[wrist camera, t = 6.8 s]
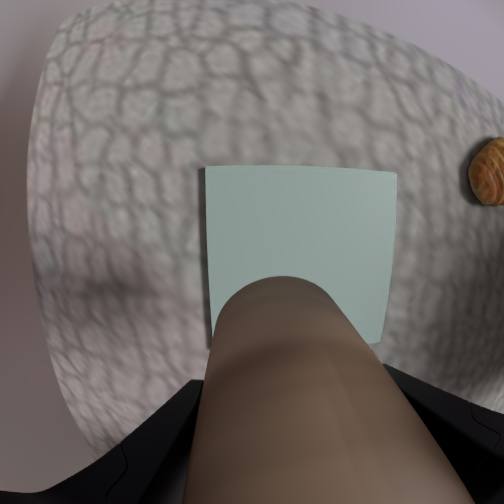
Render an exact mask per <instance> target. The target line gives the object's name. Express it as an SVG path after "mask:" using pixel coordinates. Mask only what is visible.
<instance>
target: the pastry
mask: <svg viewBox="0 0 504 504" xmlns="http://www.w3.org/2000/svg"><path fill="white" fill-rule="evenodd" d="M468 177H469V180H470V184H471V188H472V191H473V193H474V195H475V196H476V198H478V199H479V200H480V201H481V202H482V203H483V204H484V205H493V206H499V205H503V206H504V137H497V138H496V139H494V140H492V141H490V142H489V143H488V144H487V145H486V146H485V147H483V148H482V150H481V151H480V152H479V153H478V154H477V155H476V156H475V157H474V159H473V160H472V162H471V165H470V167H469V169H468Z"/></svg>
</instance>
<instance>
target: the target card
mask: <svg viewBox="0 0 504 504" xmlns="http://www.w3.org/2000/svg"><path fill="white" fill-rule="evenodd" d="M205 184H206V227H207V253H208V274H209V292H210V308H211V322H212V335H213V334H214V329H215V325H216V321H217V318H218V315H219V313H220V311H221V309H222V308H223V306H224V305H225V303H226V302H227V301H228V300H229V299H230V297H231V296H233V295H234V294H235V293H236V292H237V291H238V290H240V289H241V288H243V287H244V286H246V285H248V284H250V283H252V282H254V281H257V280H260V279H263V278H268V277H274V276H292V277H298V278H302V279H305V280H308V281H310V282H313V283H314V284H316V285H318V286H319V287H321V288H322V289H323V290H325V291H326V292H327V293H328V294H329V295H330V297H331V298H332V299H333V300H334V302H335V303H336V304H337V305H338V307H339V308H340V309H341V311H342V312H343V313H344V314H345V316H346V317H347V318H348V320H349V321H350V322H351V324H352V325H353V326H354V328H355V329H356V330H357V331H358V333H359V334H360V335H361V337H362V338H363V339H364V341H365V342H366V343H367V344H371V343H378V342H380V340H381V335H382V330H383V325H384V319H385V314H386V308H387V301H388V295H389V288H390V280H391V272H392V263H393V252H394V240H395V225H396V200H397V173H393V172H383V171H373V170H362V169H350V168H335V167H317V166H288V165H232V166H205Z"/></svg>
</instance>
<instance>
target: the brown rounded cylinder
mask: <svg viewBox="0 0 504 504" xmlns="http://www.w3.org/2000/svg"><path fill="white" fill-rule="evenodd" d="M182 504H475V502H474V500H473V499H472V497H471V495H470V494H469V492H468V490H467V489H466V487H465V486H464V484H463V482H462V481H461V479H460V478H459V476H458V474H457V473H456V471H455V470H454V468H453V466H452V465H451V463H450V462H449V460H448V459H447V457H446V456H445V454H444V453H443V451H442V450H441V448H440V447H439V445H438V444H437V442H436V441H435V439H434V438H433V436H432V435H431V433H430V432H429V430H428V429H427V427H426V426H425V424H424V423H423V421H422V420H421V418H420V417H419V416H418V414H417V413H416V411H415V410H414V408H413V407H412V405H411V404H410V403H409V401H408V400H407V398H406V397H405V396H404V394H403V393H402V391H401V390H400V388H399V387H398V386H397V384H396V383H395V382H394V380H393V379H392V377H391V376H390V375H389V373H388V372H387V370H386V369H385V368H384V366H383V365H382V364H381V362H380V361H379V360H378V358H377V357H376V356H375V354H374V353H373V351H372V350H371V349H370V347H369V346H368V345H367V343H366V342H365V341H364V339H363V338H362V337H361V335H360V334H359V333H358V331H357V330H356V329H355V328H354V326H353V325H352V324H351V322H350V321H349V320H348V318H347V317H346V316H345V314H344V313H343V312H342V311H341V309H340V308H339V307H338V305H337V304H336V303H335V302H334V300H333V299H332V298H331V297H330V295H329V294H328V293H327V292H326V291H325V290H323V289H322V288H321V287H319V286H318V285H316V284H314V283H313V282H310V281H308V280H305V279H302V278H298V277H292V276H274V277H268V278H263V279H260V280H257V281H254V282H252V283H250V284H248V285H246V286H244V287H243V288H241V289H240V290H238V291H237V292H236V293H235V294H234V295H233V296H231V297H230V299H229V300H228V301H227V302H226V303H225V305H224V306H223V308H222V309H221V311H220V313H219V315H218V318H217V321H216V325H215V329H214V334H213V339H212V344H211V349H210V354H209V358H208V363H207V368H206V373H205V378H204V384H203V389H202V394H201V399H200V404H199V409H198V415H197V420H196V425H195V431H194V436H193V442H192V447H191V453H190V458H189V464H188V470H187V476H186V482H185V488H184V494H183V500H182Z"/></svg>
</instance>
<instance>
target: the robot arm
mask: <svg viewBox="0 0 504 504" xmlns="http://www.w3.org/2000/svg"><path fill="white" fill-rule="evenodd" d="M382 365H383V366H384V368H385V369H386V370H387V372H388V373H389V375H390V376H391V377H392V379H393V380H394V382H395V383H396V384H397V386H398V387H399V388H400V390H401V391H402V393H403V394H404V396H405V397H406V398H407V400H408V401H409V403H410V404H411V405H412V407H413V408H414V410H415V411H416V413H417V414H418V416H419V417H420V418H421V420H422V421H423V423H424V424H425V426H426V427H427V429H428V430H429V432H430V433H431V435H432V436H433V438H434V439H435V441H436V442H437V444H438V445H439V447H440V448H441V450H442V451H443V453H444V454H445V456H446V457H447V459H448V460H449V462H450V463H451V465H452V466H453V468H454V470H455V471H456V473H457V474H458V476H459V478H460V479H461V481H462V482H463V484H464V486H465V487H466V489H467V490H468V492H469V494H470V495H471V497H472V499H473V500H474V502H475V504H504V414H502V413H498V412H495V411H492V410H489V409H487V408H484V407H481V406H479V405H476V404H474V403H472V402H470V403H469V401H467V400H464V399H462V398H460V397H457V396H455V395H453V394H450V393H448V392H446V391H443V390H441V389H439V388H437V387H434V386H432V385H430V384H428V383H425V382H423V381H421V380H419V379H417V378H414V377H412V376H410V375H408V374H406V373H404V372H401V371H399V370H397V369H395V368H393V367H391V366H389V365H387V364H382ZM203 384H204V380H190V381H189V382H188V383H187V384H186V385H184V386H183V387H182V388H181V389H180V390H179V391H178V392H177V393H176V394H175V395H174V396H172V397H171V398H170V399H169V400H168V401H167V402H166V403H165V404H164V405H163V406H161V407H160V408H159V409H158V410H157V411H156V412H155V413H154V414H152V415H151V416H150V417H149V418H148V419H147V420H146V421H144V422H143V423H142V424H141V425H140V426H139V427H137V428H136V429H135V430H134V431H133V432H132V433H130V434H129V435H128V436H127V437H126V438H125V439H123V440H122V441H121V442H120V444H117V445H116V446H115V447H114V448H112V449H111V450H110V451H109V452H107V453H106V454H105V455H103V456H102V457H101V458H99V459H98V460H97V461H95V462H94V463H92V464H91V465H89V466H88V467H86V468H84V469H83V470H81V471H79V472H78V473H76V474H74V475H73V476H71V477H69V478H67V479H66V480H64V481H62V482H60V483H58V484H57V485H55V486H53V487H51V488H49V489H46V490H44V491H40V492H36V493H20V492H8V491H1V490H0V504H182V500H183V494H184V488H185V482H186V476H187V470H188V464H189V458H190V453H191V447H192V442H193V436H194V431H195V425H196V420H197V415H198V409H199V404H200V399H201V394H202V389H203Z"/></svg>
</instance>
